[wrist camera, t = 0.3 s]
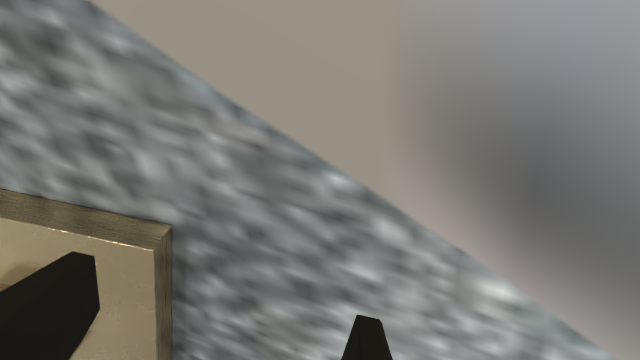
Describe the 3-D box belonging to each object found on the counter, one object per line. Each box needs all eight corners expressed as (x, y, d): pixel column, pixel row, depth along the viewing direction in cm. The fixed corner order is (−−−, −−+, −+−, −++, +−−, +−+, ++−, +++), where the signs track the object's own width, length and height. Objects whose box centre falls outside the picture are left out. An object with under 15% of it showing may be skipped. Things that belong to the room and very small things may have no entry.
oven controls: (172, 368, 29) (145, 424, 26) (9, 333, 29) (-39, 385, 26) (172, 224, 23) (136, 274, 19) (-38, 180, 23) (-111, 221, 19)
